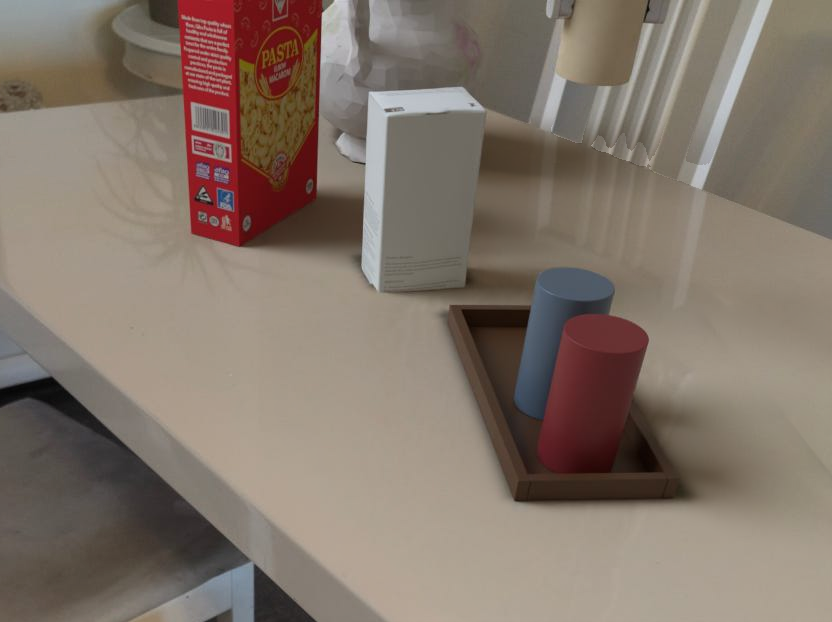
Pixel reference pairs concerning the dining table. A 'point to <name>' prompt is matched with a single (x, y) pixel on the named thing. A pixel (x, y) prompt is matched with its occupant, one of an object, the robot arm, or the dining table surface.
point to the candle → (601, 41)
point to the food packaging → (249, 112)
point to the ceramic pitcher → (390, 58)
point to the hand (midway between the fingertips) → (603, 19)
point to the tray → (519, 433)
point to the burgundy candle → (591, 393)
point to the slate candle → (555, 328)
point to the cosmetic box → (420, 187)
